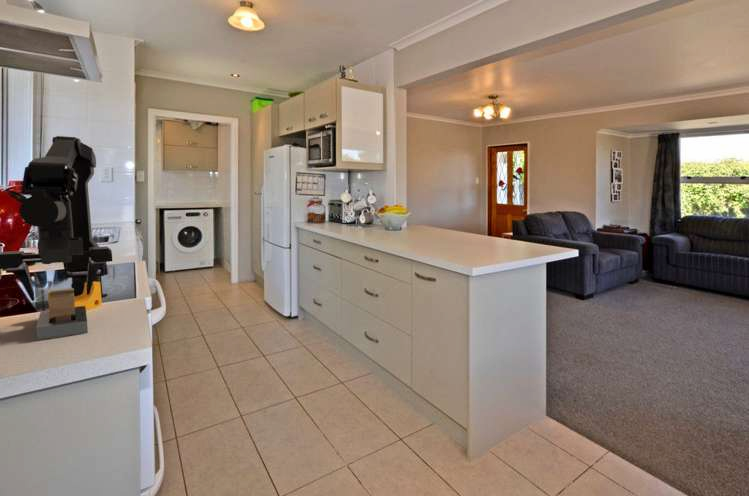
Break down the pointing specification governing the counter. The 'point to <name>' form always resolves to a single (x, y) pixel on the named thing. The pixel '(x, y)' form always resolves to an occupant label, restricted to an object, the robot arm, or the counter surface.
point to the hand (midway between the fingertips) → (61, 297)
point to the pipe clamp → (88, 297)
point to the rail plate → (61, 324)
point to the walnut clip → (62, 304)
